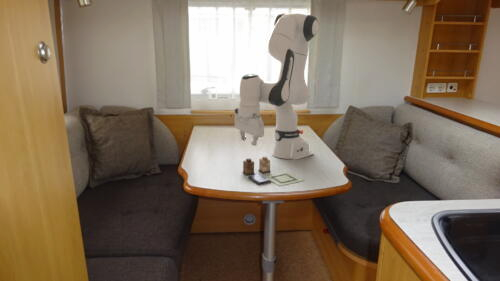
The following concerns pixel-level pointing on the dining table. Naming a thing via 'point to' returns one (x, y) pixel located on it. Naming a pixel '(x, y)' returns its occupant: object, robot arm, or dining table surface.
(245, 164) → the walnut stamp
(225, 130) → the dining table surface
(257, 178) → the ink pad
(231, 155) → the dining table surface
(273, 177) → the form card
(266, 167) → the beech stamp
